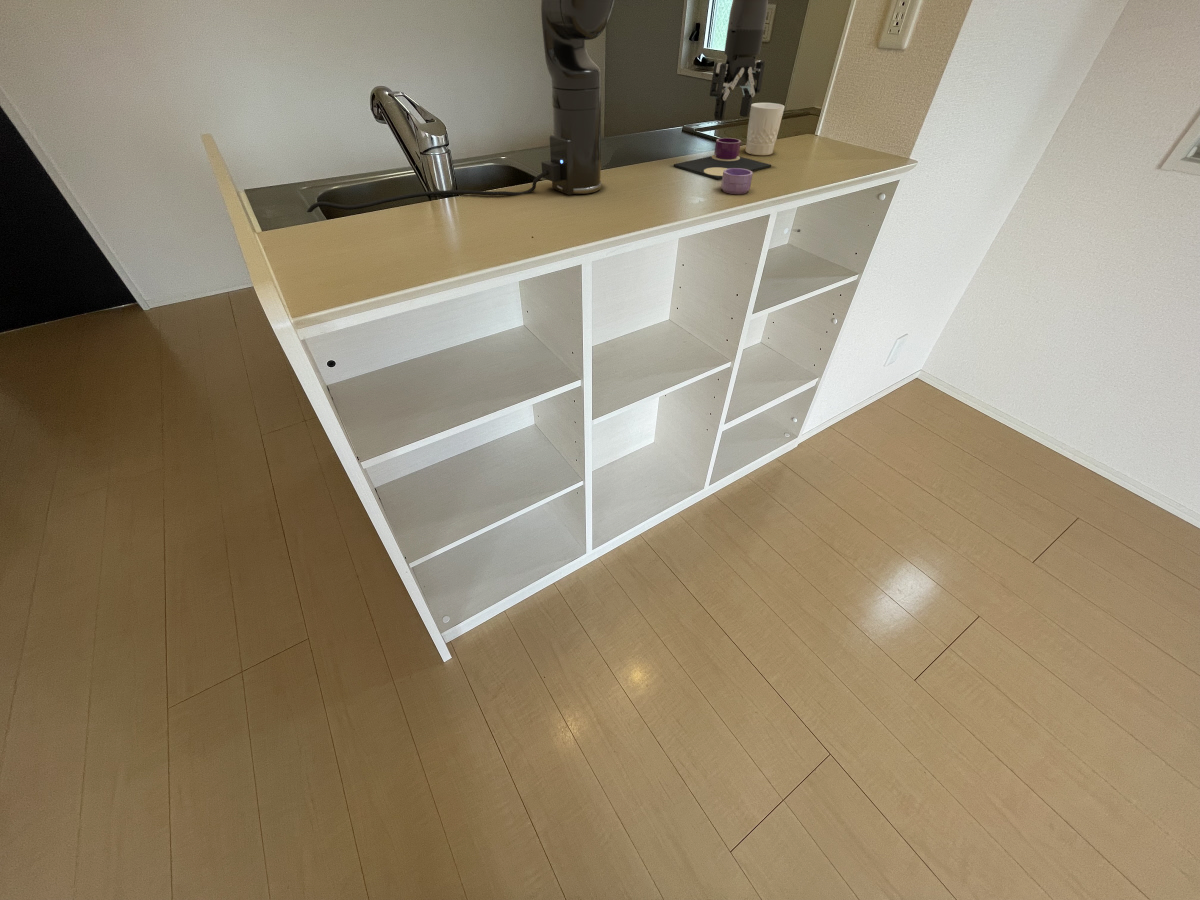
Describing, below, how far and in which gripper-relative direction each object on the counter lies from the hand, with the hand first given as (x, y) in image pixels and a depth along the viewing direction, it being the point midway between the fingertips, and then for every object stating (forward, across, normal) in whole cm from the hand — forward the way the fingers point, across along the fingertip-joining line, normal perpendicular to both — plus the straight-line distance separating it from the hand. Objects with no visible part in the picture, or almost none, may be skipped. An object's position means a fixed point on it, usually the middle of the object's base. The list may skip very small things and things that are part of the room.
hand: (731, 118), depth 117 cm
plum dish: (+8, 0, 0) cm, 8 cm away
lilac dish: (+9, +17, +18) cm, 27 cm away
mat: (+9, +5, +4) cm, 11 cm away
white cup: (+9, -13, 0) cm, 16 cm away
